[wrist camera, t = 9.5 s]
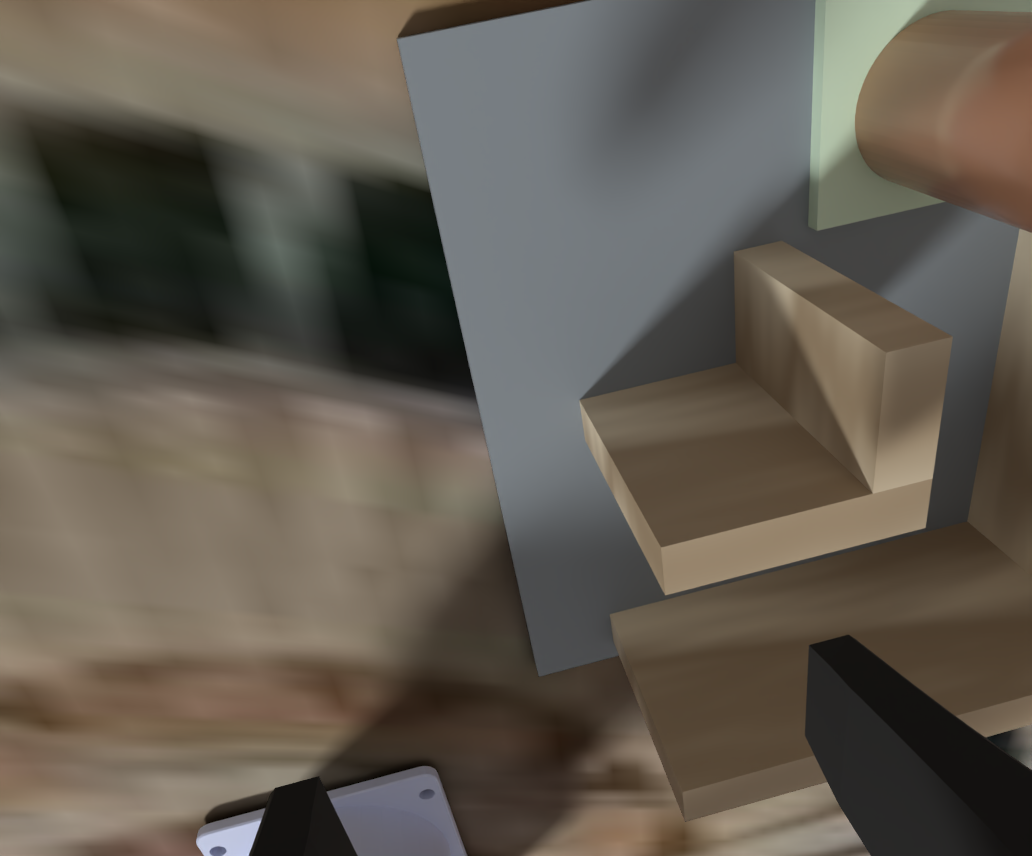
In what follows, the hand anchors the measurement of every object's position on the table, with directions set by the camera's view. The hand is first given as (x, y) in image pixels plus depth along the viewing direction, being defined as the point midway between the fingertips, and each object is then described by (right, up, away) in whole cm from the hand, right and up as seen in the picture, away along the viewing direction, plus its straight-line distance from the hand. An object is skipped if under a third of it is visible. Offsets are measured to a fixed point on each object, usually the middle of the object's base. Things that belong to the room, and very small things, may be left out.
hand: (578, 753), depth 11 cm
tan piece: (+7, +5, +10) cm, 13 cm away
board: (+6, +7, +9) cm, 13 cm away
